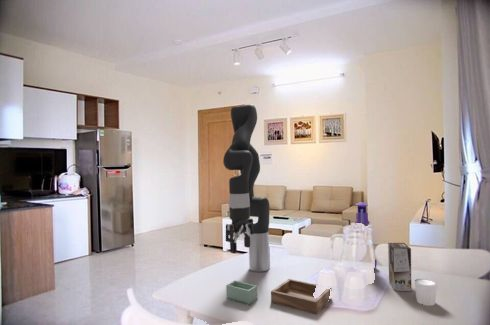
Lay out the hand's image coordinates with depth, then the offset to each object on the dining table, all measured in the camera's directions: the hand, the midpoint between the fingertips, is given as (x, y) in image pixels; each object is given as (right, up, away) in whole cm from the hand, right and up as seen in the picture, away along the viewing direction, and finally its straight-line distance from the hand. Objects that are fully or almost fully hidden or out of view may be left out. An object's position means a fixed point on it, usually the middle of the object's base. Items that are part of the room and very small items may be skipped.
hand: (240, 249), depth 121 cm
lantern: (+55, -16, +30) cm, 65 cm away
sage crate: (+1, -18, 0) cm, 18 cm away
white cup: (+64, -17, -6) cm, 67 cm away
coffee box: (+62, -17, +8) cm, 64 cm away
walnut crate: (+22, -18, -2) cm, 28 cm away
